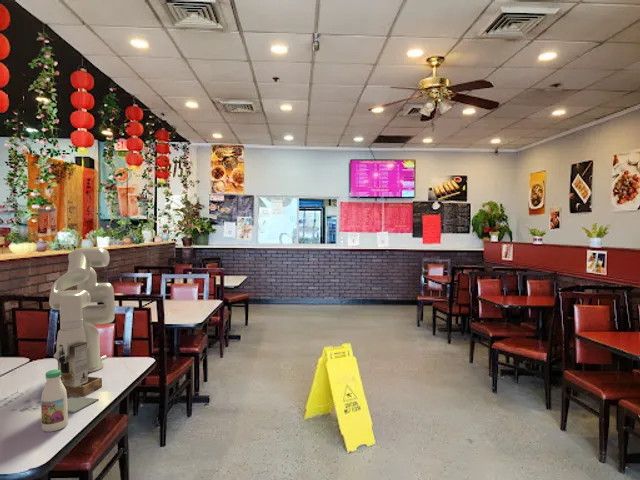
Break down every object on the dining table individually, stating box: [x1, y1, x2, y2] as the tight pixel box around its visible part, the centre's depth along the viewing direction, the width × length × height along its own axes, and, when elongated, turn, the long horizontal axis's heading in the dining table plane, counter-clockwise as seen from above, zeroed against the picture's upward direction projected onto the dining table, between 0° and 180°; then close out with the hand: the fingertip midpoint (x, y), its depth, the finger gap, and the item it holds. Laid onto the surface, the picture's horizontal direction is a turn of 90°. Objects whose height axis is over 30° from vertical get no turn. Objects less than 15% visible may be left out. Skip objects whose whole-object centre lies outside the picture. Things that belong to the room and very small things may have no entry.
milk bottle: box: [40, 369, 69, 433], centre depth 145 cm, size 8×8×20 cm
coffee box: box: [57, 342, 89, 387], centre depth 162 cm, size 9×6×16 cm
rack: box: [64, 376, 103, 397], centre depth 178 cm, size 10×13×4 cm
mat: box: [67, 395, 99, 415], centre depth 163 cm, size 12×12×1 cm
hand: (72, 369), depth 162 cm, fingers closed on coffee box, 6 cm apart
